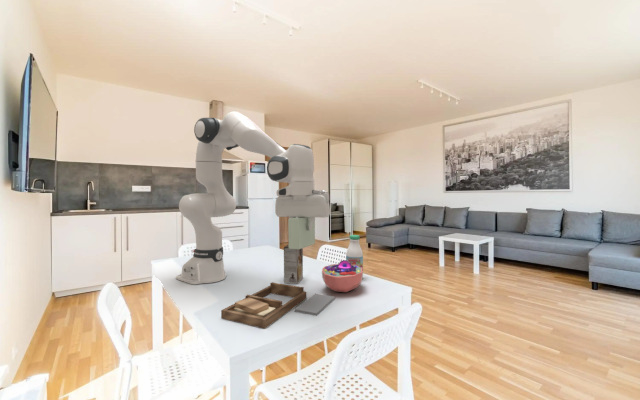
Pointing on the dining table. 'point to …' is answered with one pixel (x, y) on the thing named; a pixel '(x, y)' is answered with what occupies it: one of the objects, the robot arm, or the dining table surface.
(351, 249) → the milk bottle
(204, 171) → the robot arm
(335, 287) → the cell model
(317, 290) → the dining table surface
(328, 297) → the slate pad
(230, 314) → the frame
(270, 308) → the offcut stack
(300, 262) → the coffee box
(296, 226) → the pale green cuboid
